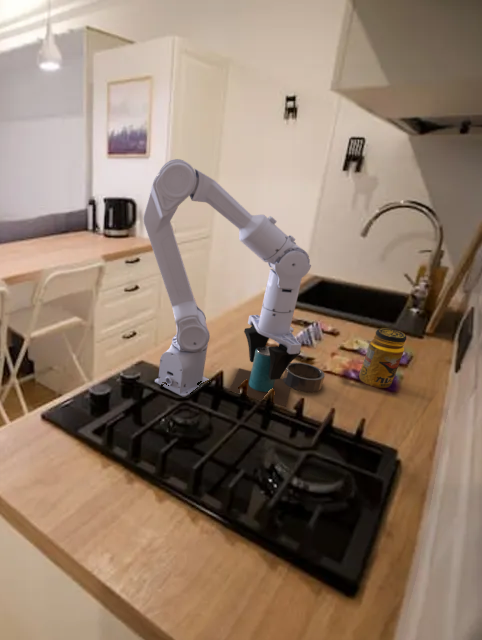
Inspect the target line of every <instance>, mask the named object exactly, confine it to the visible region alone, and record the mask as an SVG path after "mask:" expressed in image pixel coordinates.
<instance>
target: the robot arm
mask: <svg viewBox="0 0 482 640" xmlns="http://www.w3.org/2000/svg"><path fill="white" fill-rule="evenodd" d="M188 198H189V199H190V200H191V202H199V203H206V204H208V205H209V206H210V207H212V208H213V209H214V210H215V211H216V212H217V213H219V214H220V215H221V216H223V217H224V218H225V219H226V220H227V221H229V222H230V223H231V224H232V225H233V226H234V227H236V228H237V229H238V239H239V242H241V243H242V244H243V245H244V246H245V247H247V248H248V249H249V250H250V251H251V252H252V253H254V254H255V255H256V256H257V257H258V258H259V259H260V260H262V262H264V263H267V264H268V266H269V268H270V269H269V273H268V278H267V281H266V285H265V291H264V294H263V299H262V305H261V310H260V315H259V314H252V315H251V314H250V315H249V316H248V321H247V324H248V325H249V326H250V327H246V328H244V330H243V332H244V334H245V337H246V340H247V346H248V356H249V362H250V363H253V361H254V356H255V351H256V349H257V348H258V347H260V346H267V343H268V341H269V339H270V340H272V341H274V342H275V343H277V344H278V345H275V346H269V348H268V349H269V353H270V370H269V378H270V379H271V380H274V379H280V378H281V379H282V376H283V375H284V372H285V369H286V368H287V367H288V365H289V364H290V363H293V362H294V360H295V359H296V358H297V357H298V356H299V355H301V348H302V345H303V344H302V343H301V342H299V341H298V340H297V338H296V337H295V335H294V334H293V333H294V330H295V329H294V328H293V327H292V325H291V324H292V322H293V317H294V313H295V310H296V305H297V301H298V297H299V293H300V289H301V283H302V279H303V278H304V277H305V276H306V275H307V274H308V273H309V271H310V270H311V267H312V265H311V264H310V256H309V253H308V252H307V251H306V250H305V249H303V248H302V247H300V246H299V245H298V244H297V243H296V242H295V241H296V238H295V237H294V236H293V235H291V234H289V235H287V234H286V233H285V232H284V231H283V230H282V229H280V227H279V226H277V224H276V223H277V220H276V219H275V218H274V217H273V216H271V215H269V216H268V217H267V216H266V215H265V214H251V213H250V212H249V211H248V210H247V209H246V208H245V207H244V206H243V205H241V204H240V203H239V202H238V201H237V200H236V198H234V197H233V196H232V195H231V194H230V193H229V192H227V190H226V189H225V188H223V186H221V185H220V184H219V183H218V182H217V181H216V180H215V179H213V178H212V177H210V176H208V175H207V174H205V173H203V172H202V171H201V170H199V169H197V168H195V167H193V166H192V165H191V164H190V163H189V162H187V161H185V160H184V159H180V158H175V159H170V160H169V161H167V162H165V163H164V164H163V165H162V167H161V168H160V170H159V172H158V173H157V175H156V176H155V178H154V180H153V182H152V184H151V188H150V192H149V196H148V199H147V202H146V206H145V210H144V214H143V217H142V219H143V224H144V227H145V231H146V234H147V236H148V240H149V242H150V245H151V248H152V251H153V254H154V257H155V260H156V263H157V266H158V269H159V272H160V276H161V278H162V280H163V284H164V287H165V290H166V293H167V296H168V298H169V301H170V305H171V308H172V312H173V316H174V323H175V326H176V334H175V335H174V336H173V337H172V339H171V344H170V346H169V348H168V349H167V350H166V351H164V352H163V353H162V354H161V356H160V357H159V367H158V378H155V379H154V383H156V384H158V385H159V386H161V384H164V383H162V382H166V383H167V385H166V384H164V385H163V386H162V387H164V388H165V389H167V390H169V391H170V392H172V393H174V394H176V395H178V396H180V397H182V398H185V397H188V396H190V395H191V394H192V393H191V392H192V391H193V390H195V389H196V388H197V387H199V385H200V384H201V383H203V382H205V381H207V380H209V379H210V378H208V377H205V376H204V373H205V365H206V359H207V351H208V346H209V342H210V336H211V335H210V331H209V329H208V326H207V317H206V314H205V313H204V311H203V310H202V309H201V308H200V307H199V306H198V305H197V301H196V298H195V296H194V293H193V290H192V287H191V283H190V281H189V277H188V273H187V271H186V267H185V265H184V261H183V258H182V254H181V251H180V248H179V245H178V242H177V239H176V236H175V232H174V229H173V225H172V223H171V221H172V219H173V217H174V215H175V213H176V212H177V210H178V207H179V206H181V204H182V203H183V202H185V201H186V199H188ZM200 381H202V382H201V383H200V384H199V385H197V383H198V382H200ZM168 385H169V386H168ZM196 390H197V389H196ZM196 390H195V391H196ZM190 393H191V394H190Z"/></svg>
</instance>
